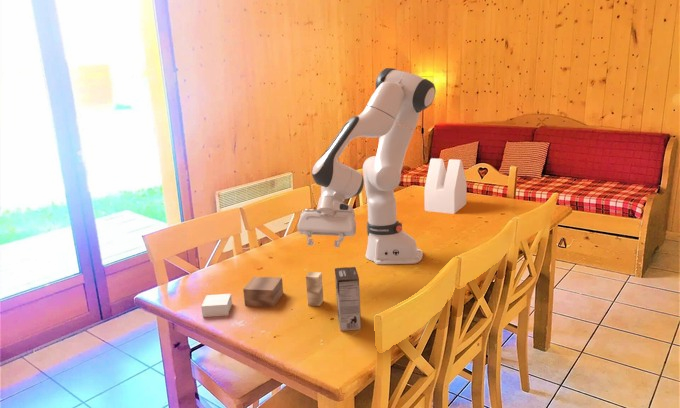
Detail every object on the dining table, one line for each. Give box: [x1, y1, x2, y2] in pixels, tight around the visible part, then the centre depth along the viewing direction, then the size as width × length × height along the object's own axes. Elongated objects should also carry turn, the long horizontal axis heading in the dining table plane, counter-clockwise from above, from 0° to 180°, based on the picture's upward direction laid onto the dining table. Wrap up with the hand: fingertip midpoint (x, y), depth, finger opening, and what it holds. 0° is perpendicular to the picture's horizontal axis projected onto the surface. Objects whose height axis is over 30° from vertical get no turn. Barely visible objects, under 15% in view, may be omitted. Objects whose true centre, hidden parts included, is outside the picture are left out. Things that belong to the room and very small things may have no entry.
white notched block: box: [423, 157, 468, 215], centre depth 264 cm, size 19×15×25 cm
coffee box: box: [334, 266, 362, 332], centre depth 153 cm, size 9×6×16 cm
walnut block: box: [243, 276, 284, 308], centre depth 173 cm, size 10×10×6 cm
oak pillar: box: [305, 271, 324, 307], centre depth 168 cm, size 4×4×10 cm
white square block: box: [201, 293, 233, 318], centre depth 168 cm, size 8×8×4 cm
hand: (323, 245), depth 176 cm, fingers open, 8 cm apart
